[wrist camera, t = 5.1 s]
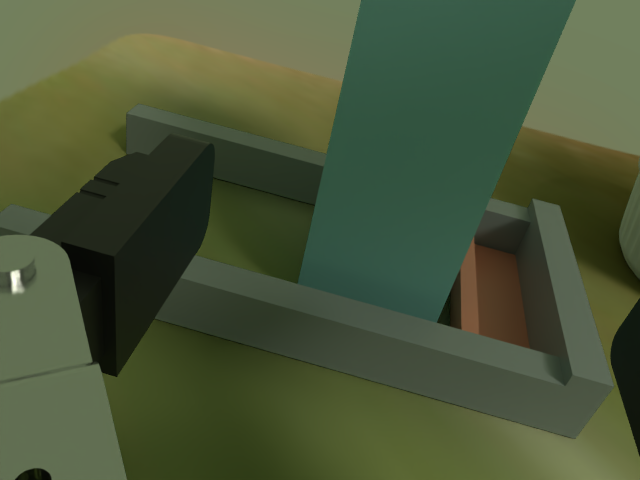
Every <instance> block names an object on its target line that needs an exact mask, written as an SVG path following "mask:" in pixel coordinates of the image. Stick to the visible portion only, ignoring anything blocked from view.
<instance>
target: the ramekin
mask: <svg viewBox="0 0 640 480" xmlns="http://www.w3.org/2000/svg"><path fill="white" fill-rule="evenodd" d="M619 242H620V245H621V249H622V252H623V256H624V258H625V260H626V262H627V264H628V266H629V267H630V269H631V270H632V271H633V273H634V274H635V275H636V276H637V277H638V278H639V280H640V158H639V174H638V176H637V179H636V182H635V184H634V187H633V190H632V193H631V195H630V198H629V201H628V204H627V207H626V210H625V212H624V215H623V218H622V222H621V226H620V229H619Z"/></svg>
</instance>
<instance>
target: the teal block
mask: <svg viewBox="0 0 640 480" xmlns="http://www.w3.org/2000/svg"><path fill="white" fill-rule="evenodd" d="M575 1H576V0H361V4H360V8H359V13H358V17H357V21H356V26H355V30H354V35H353V39H352V44H351V48H350V53H349V57H348V62H347V66H346V70H345V75H344V79H343V84H342V88H341V93H340V97H339V101H338V106H337V110H336V115H335V119H334V124H333V128H332V133H331V137H330V141H329V146H328V150H327V155H326V159H325V164H324V168H323V173H322V177H321V182H320V186H319V190H318V195H317V199H316V204H315V208H314V213H313V217H312V222H311V226H310V230H309V235H308V239H307V244H306V248H305V253H304V257H303V262H302V266H301V271H300V275H299V279H298V284H300V285H303V286H307V287H310V288H314V289H318V290H321V291H325V292H328V293H332V294H335V295H339V296H343V297H346V298H350V299H353V300H357V301H360V302H364V303H368V304H371V305H375V306H378V307H382V308H385V309H389V310H393V311H396V312H400V313H403V314H407V315H410V316H414V317H418V318H421V319H425V320H428V321H432V322H435V323H437V321H438V318H439V316H440V314H441V312H442V309H443V307H444V305H445V302H446V300H447V298H448V295H449V293H450V291H451V288H452V286H453V284H454V281H455V279H456V277H457V274H458V272H459V270H460V268H461V265H462V263H463V261H464V258H465V256H466V254H467V251H468V249H469V247H470V244H471V242H472V240H473V237H474V235H475V233H476V230H477V228H478V226H479V224H480V221H481V219H482V217H483V214H484V212H485V210H486V207H487V205H488V203H489V200H490V198H491V196H492V193H493V191H494V189H495V186H496V184H497V182H498V180H499V177H500V175H501V173H502V170H503V168H504V166H505V163H506V161H507V159H508V156H509V154H510V152H511V149H512V147H513V145H514V142H515V140H516V138H517V136H518V133H519V131H520V129H521V126H522V124H523V122H524V119H525V117H526V115H527V112H528V110H529V107H530V105H531V103H532V101H533V98H534V96H535V94H536V92H537V89H538V87H539V85H540V82H541V80H542V77H543V75H544V73H545V71H546V68H547V66H548V64H549V61H550V59H551V57H552V55H553V52H554V50H555V48H556V45H557V43H558V41H559V38H560V36H561V34H562V31H563V29H564V27H565V24H566V22H567V20H568V17H569V15H570V13H571V11H572V8H573V6H574V4H575Z"/></svg>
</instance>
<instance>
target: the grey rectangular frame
mask: <svg viewBox="0 0 640 480" xmlns="http://www.w3.org/2000/svg"><path fill="white" fill-rule="evenodd" d="M171 133H175V134H179V135H182V136H186V137H190V138H193V139H197V140H201V141H205V142H208V143H212V144H213V145H214V148H215V162H214V172H213V177H214V178H217V179H221V180H225V181H228V182H232V183H236V184H239V185H243V186H247V187H250V188H254V189H258V190H261V191H265V192H269V193H272V194H276V195H280V196H283V197H287V198H291V199H294V200H298V201H302V202H305V203H309V204H313V205H315V204H316V199H317V195H318V190H319V186H320V182H321V177H322V173H323V168H324V164H325V159H326V155H327V154H325V153H321V152H317V151H314V150H310V149H306V148H302V147H299V146H295V145H291V144H288V143H284V142H280V141H276V140H273V139H269V138H265V137H261V136H258V135H254V134H250V133H246V132H243V131H239V130H235V129H232V128H228V127H224V126H220V125H217V124H213V123H209V122H205V121H202V120H198V119H194V118H191V117H187V116H183V115H179V114H176V113H172V112H168V111H164V110H161V109H157V108H153V107H150V106H146V105H142V104H137V105H136V106H135V107H134V108H132V109H131V110H130V111H129V112H127V113H126V154H132V153H134V152H140V153H143V154H147V155H149V154H150V153H151V152H152V151H153V150H154V149H155V148H156V147H157V146H158V145H159V144H160V143H161V142H162V141H163V140H164V139H165V138H166V137H167V136H168V135H169V134H171ZM50 216H51V215H49V214H46V213H42V212H39V211H35V210H32V209H28V208H24V207H21V206H17V205H14V204H11V205H9V206H8V207H7V208H6V209H4V210H3V211H2V212H0V236H5V235H30V234H31V233H32V232H33V231H34V230H35V229H37V228H38V227H39V226H40V225H41V224H42V223H43V222H44V221H45V220H47V219H48V218H49V217H50ZM154 319H158V320H161V321H165V322H168V323H172V324H175V325H179V326H182V327H186V328H189V329H193V330H196V331H200V332H203V333H207V334H210V335H214V336H217V337H221V338H224V339H228V340H231V341H235V342H238V343H242V344H245V345H249V346H252V347H256V348H259V349H263V350H266V351H270V352H273V353H277V354H280V355H284V356H287V357H291V358H294V359H298V360H301V361H305V362H308V363H312V364H315V365H319V366H322V367H326V368H329V369H332V370H336V371H339V372H343V373H346V374H350V375H353V376H357V377H360V378H364V379H367V380H371V381H374V382H378V383H381V384H385V385H388V386H392V387H395V388H399V389H402V390H406V391H409V392H413V393H416V394H420V395H423V396H427V397H430V398H434V399H437V400H441V401H444V402H448V403H451V404H455V405H458V406H462V407H465V408H469V409H472V410H476V411H479V412H483V413H486V414H490V415H493V416H497V417H500V418H504V419H507V420H511V421H514V422H518V423H521V424H525V425H528V426H532V427H535V428H539V429H542V430H546V431H549V432H553V433H556V434H560V435H563V436H567V437H570V438H574V439H575V438H576V437H577V436H578V434H579V433H580V432H581V430H582V429H583V428H584V426H585V425H586V424H587V422H588V421H589V420H590V418H591V417H592V416H593V414H594V413H595V412H596V410H597V409H598V408H599V406H600V405H601V404H602V402H603V401H604V400H605V398H606V397H607V396H608V394H609V393H610V392H611V390H612V389H613V387H614V385H613V381H612V378H611V375H610V371H609V368H608V365H607V361H606V358H605V355H604V351H603V348H602V345H601V341H600V338H599V335H598V331H597V328H596V325H595V321H594V318H593V315H592V311H591V308H590V305H589V302H588V298H587V295H586V292H585V288H584V285H583V282H582V278H581V275H580V272H579V268H578V265H577V262H576V258H575V255H574V252H573V248H572V245H571V242H570V238H569V235H568V232H567V228H566V225H565V222H564V219H563V215H562V212H561V209H560V206H559V205H555V204H551V203H548V202H544V201H540V200H536V199H533V198H532V200H531V202H530V205H529V207H528V208H526V207H522V206H519V205H515V204H511V203H507V202H504V201H500V200H496V199H493V198H490V200H489V203H488V205H487V207H486V210H485V212H484V214H483V217H482V219H481V221H480V224H479V226H478V228H477V230H476V233H475V235H474V237H473V240H472V242H471V244H470V247H469V249H468V251H467V254H466V256H465V258H464V261H463V263H462V265H461V268H460V270H459V272H458V274H457V277H456V279H455V281H454V284H453V286H452V288H451V292H450V326H446V325H443V324H439V323H435V322H432V321H428V320H425V319H421V318H418V317H414V316H410V315H407V314H403V313H400V312H396V311H393V310H389V309H385V308H382V307H378V306H375V305H371V304H368V303H364V302H360V301H357V300H353V299H350V298H346V297H343V296H339V295H335V294H332V293H328V292H325V291H321V290H318V289H314V288H310V287H307V286H303V285H300V284H296V283H293V282H289V281H285V280H282V279H278V278H275V277H271V276H267V275H264V274H260V273H257V272H253V271H250V270H246V269H242V268H239V267H235V266H232V265H228V264H225V263H221V262H217V261H214V260H210V259H207V258H203V257H200V256H196V255H195V256H194V257H193V259H192V261H191V262H190V264H189V265H188V267H187V268H186V270H185V271H184V273H183V275H182V276H181V278H180V279H179V281H178V282H177V284H176V285H175V287H174V289H173V290H172V292H171V293H170V295H169V296H168V298H167V299H166V301H165V303H164V304H163V306H162V307H161V309H160V310H159V312H158V314H157V315H156V317H155V318H154Z"/></svg>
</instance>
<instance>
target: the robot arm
mask: <svg viewBox="0 0 640 480" xmlns="http://www.w3.org/2000/svg"><path fill="white" fill-rule="evenodd" d="M214 162H215V148H214V145H213V144H212V143H208V142H205V141H201V140H197V139H193V138H190V137H186V136H182V135H179V134H175V133H171V134H169V135H168V136H167V137H166V138H165V139H164V140H163V141H162V142H161V143H160V144H159V145H158V146H157V147H156V148H155V149H154V150H153V151H152V152H151V153H150V154H149V155H147V154H143V153H140V152H134V153H132V154H129V155H126V156H124V157H121V158H119V159H116V160H114V161H111V162H110V163H109V164H108V165H106V166H105V167H104V168H103V169H102V170H101V171H100V172H99V173H98V174H97V175H95V176H94V180H90V181H89V182H88V183H87V184H85V185H84V186H83V187H82V188H81V189H80V193H78V192H77V193H75V194H74V195H73V196H72V197H71V198H70V199H69V200H68V201H67V202H65V203H64V204H63V205H62V206H61V207H60V208H59V209H58V210H57V211H55V212H54V213H53V214H52V215H51V216H50V217H49V218H48V219H47V220H45V221H44V222H43V223H42V224H41V225H40V226H39V227H38V228H37V229H35V230H34V231H33V232H32V233H31V234H30V235H5V236H0V480H127V478H126V473H125V469H124V465H123V461H122V456H121V452H120V448H119V444H118V440H117V435H116V431H115V427H114V423H113V418H112V414H111V410H110V406H109V401H108V397H107V393H106V389H105V384H104V380H103V376H102V373H105V374H108V375H112V376H115V377H117V376H118V374H119V373H120V371H121V370H122V368H123V366H124V365H125V363H126V362H127V360H128V359H129V357H130V356H131V354H132V352H133V351H134V349H135V348H136V346H137V345H138V343H139V342H140V340H141V338H142V337H143V335H144V334H145V332H146V331H147V329H148V328H149V326H150V324H151V323H152V321H153V320H154V318H155V317H156V315H157V314H158V312H159V310H160V309H161V307H162V306H163V304H164V303H165V301H166V299H167V298H168V296H169V295H170V293H171V292H172V290H173V289H174V287H175V285H176V284H177V282H178V281H179V279H180V278H181V276H182V275H183V273H184V271H185V270H186V268H187V267H188V265H189V264H190V262H191V261H192V259H193V257H194V256H195V254H196V253H197V251H198V250H199V248H200V246H201V244H202V241H203V239H204V236H205V233H206V230H207V226H208V221H209V213H210V203H211V193H212V182H213V172H214ZM611 365H612V368H613V372H614V375H615V378H616V381H617V385H618V388H619V391H620V394H621V398H622V401H623V404H624V407H625V410H626V414H627V417H628V420H629V423H630V427H631V430H632V433H633V436H634V440H635V443H636V446H637V449H638V452H639V456H640V298H639V300H638V301H637V303H636V304H635V306H634V307H633V309H632V310H631V311H630V313H629V314H628V316H627V317H626V319H625V320H624V322H623V323H622V324H621V326H620V327H619V329H618V331H617V332H616V334H615V337H614V339H613V342H612V347H611Z"/></svg>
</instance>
